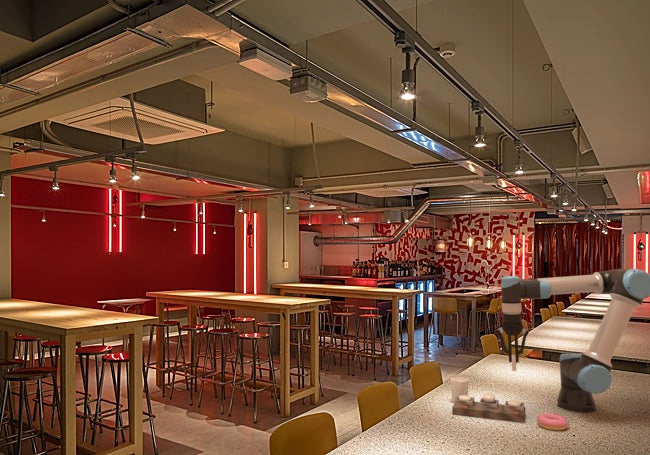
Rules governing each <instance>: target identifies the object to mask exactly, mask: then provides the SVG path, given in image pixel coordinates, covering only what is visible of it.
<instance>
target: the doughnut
mask: <svg viewBox="0 0 650 455" xmlns="http://www.w3.org/2000/svg"><path fill="white" fill-rule="evenodd" d="M536 421H537V424H538V426H540V427H541V428H543V429H545V430H549V431H564V430H567V428H568V426H569V422H568V420H567V419H566V418H565V417H564V416H562V415H559V414H556V413H542V414H541V413H540V414H538V416H537V417H536Z"/></svg>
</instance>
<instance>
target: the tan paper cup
mask: <svg viewBox="0 0 650 455" xmlns="http://www.w3.org/2000/svg"><path fill="white" fill-rule="evenodd" d="M450 391H451V392H450V393H451V400H452V402H453V403H455V399H456V397H457V396H460V395H467V396H469V379H468V378H465V377H457V376H456V377H451V378H450Z"/></svg>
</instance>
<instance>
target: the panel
mask: <svg viewBox="0 0 650 455" xmlns="http://www.w3.org/2000/svg"><path fill="white" fill-rule="evenodd" d="M470 397H471V401H463V400H459V396H457V397H456V399H455V403H454V402H453V403H454V404H453V406H452V408H451V409H452V412H451V414H452V415H453V416H454V415H456V416H462V417H469V418H470V417H471V418H479V419H487V420H495V421H504V422H511V423H520V424H525V423H526V412H527V411H526V406H525V402H524V401H523V402H521V401H520V402H521V407H519V406H510V405H508V401H509V400H505V402H504V404H500V401H499V399H495V402H485V401H483V397H482V398H481V397H480V400H479V401H475V397H474V396H473V397H472V396H470Z"/></svg>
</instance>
